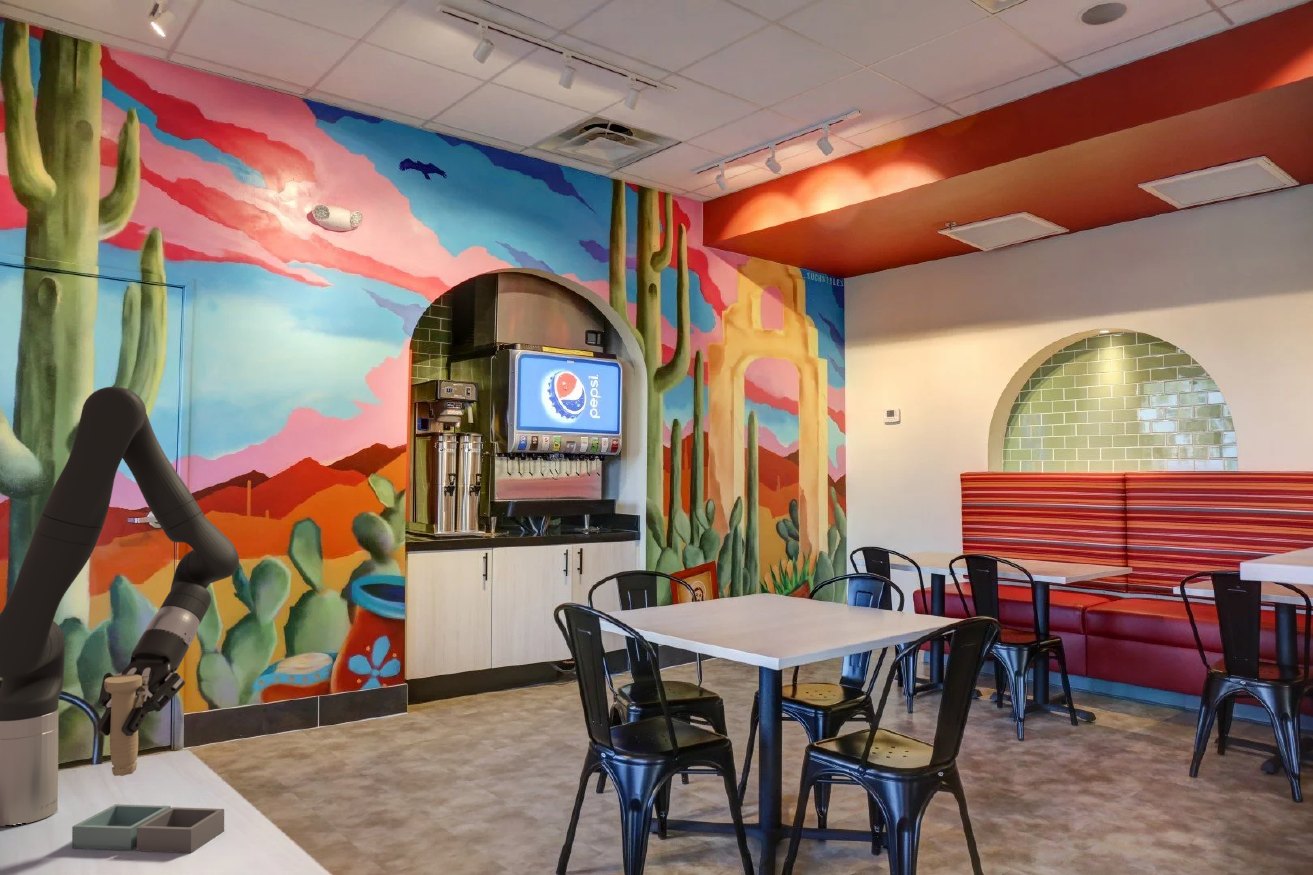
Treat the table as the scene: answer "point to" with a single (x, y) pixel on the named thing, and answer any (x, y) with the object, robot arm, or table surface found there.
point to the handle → (122, 722)
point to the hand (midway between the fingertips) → (114, 732)
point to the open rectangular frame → (180, 830)
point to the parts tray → (114, 827)
